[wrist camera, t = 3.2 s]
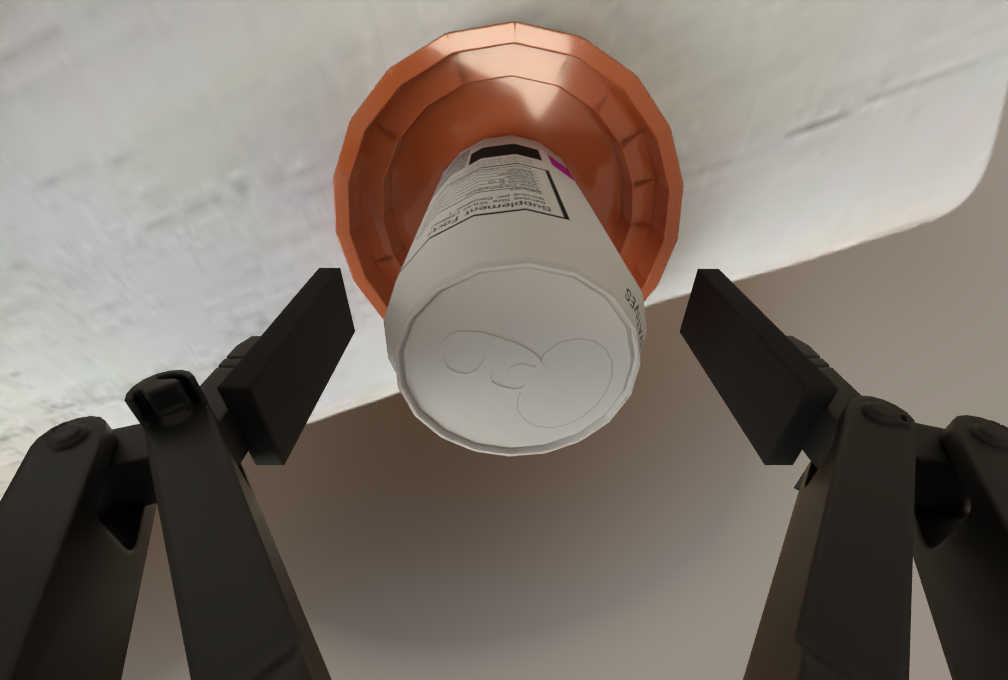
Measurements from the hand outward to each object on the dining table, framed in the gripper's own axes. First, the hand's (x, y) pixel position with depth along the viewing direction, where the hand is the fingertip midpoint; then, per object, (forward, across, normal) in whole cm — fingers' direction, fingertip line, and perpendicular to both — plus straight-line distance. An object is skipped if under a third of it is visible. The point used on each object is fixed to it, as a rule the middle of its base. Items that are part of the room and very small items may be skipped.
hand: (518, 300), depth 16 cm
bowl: (+11, 0, 0) cm, 11 cm away
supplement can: (+11, 0, 0) cm, 11 cm away
